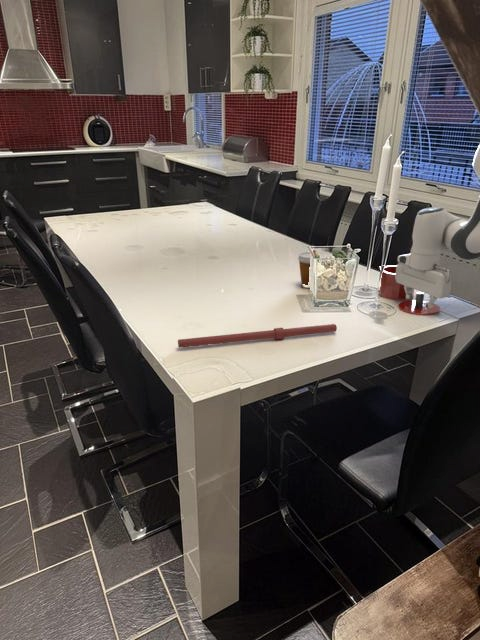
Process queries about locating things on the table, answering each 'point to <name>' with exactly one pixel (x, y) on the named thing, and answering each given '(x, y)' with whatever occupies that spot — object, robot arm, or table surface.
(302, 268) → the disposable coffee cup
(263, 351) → the table surface
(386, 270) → the red cooking pot
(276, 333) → the dark red rod
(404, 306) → the lid
